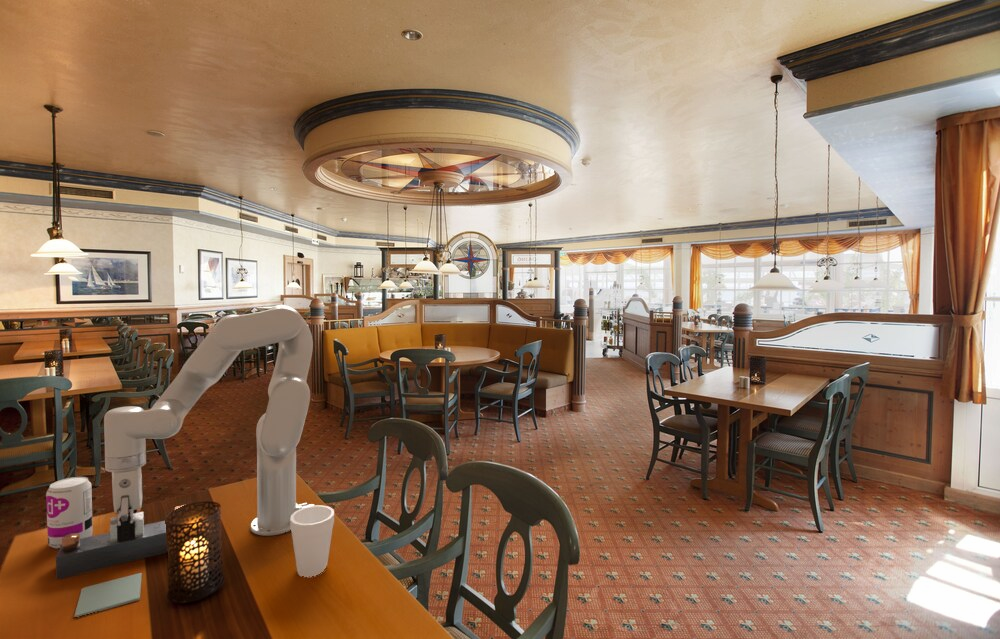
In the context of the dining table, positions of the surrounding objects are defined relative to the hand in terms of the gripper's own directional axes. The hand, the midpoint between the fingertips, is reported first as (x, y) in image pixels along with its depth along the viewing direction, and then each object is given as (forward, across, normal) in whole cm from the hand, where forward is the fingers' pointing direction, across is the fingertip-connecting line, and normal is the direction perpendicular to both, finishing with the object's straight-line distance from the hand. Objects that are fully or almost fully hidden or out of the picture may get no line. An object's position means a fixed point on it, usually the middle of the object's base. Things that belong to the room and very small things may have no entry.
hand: (127, 531), depth 111 cm
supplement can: (+6, +15, +12) cm, 20 cm away
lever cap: (+1, 0, 0) cm, 1 cm away
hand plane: (+6, 0, 0) cm, 6 cm away
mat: (+6, -16, +2) cm, 17 cm away
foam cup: (+6, -29, -35) cm, 46 cm away
